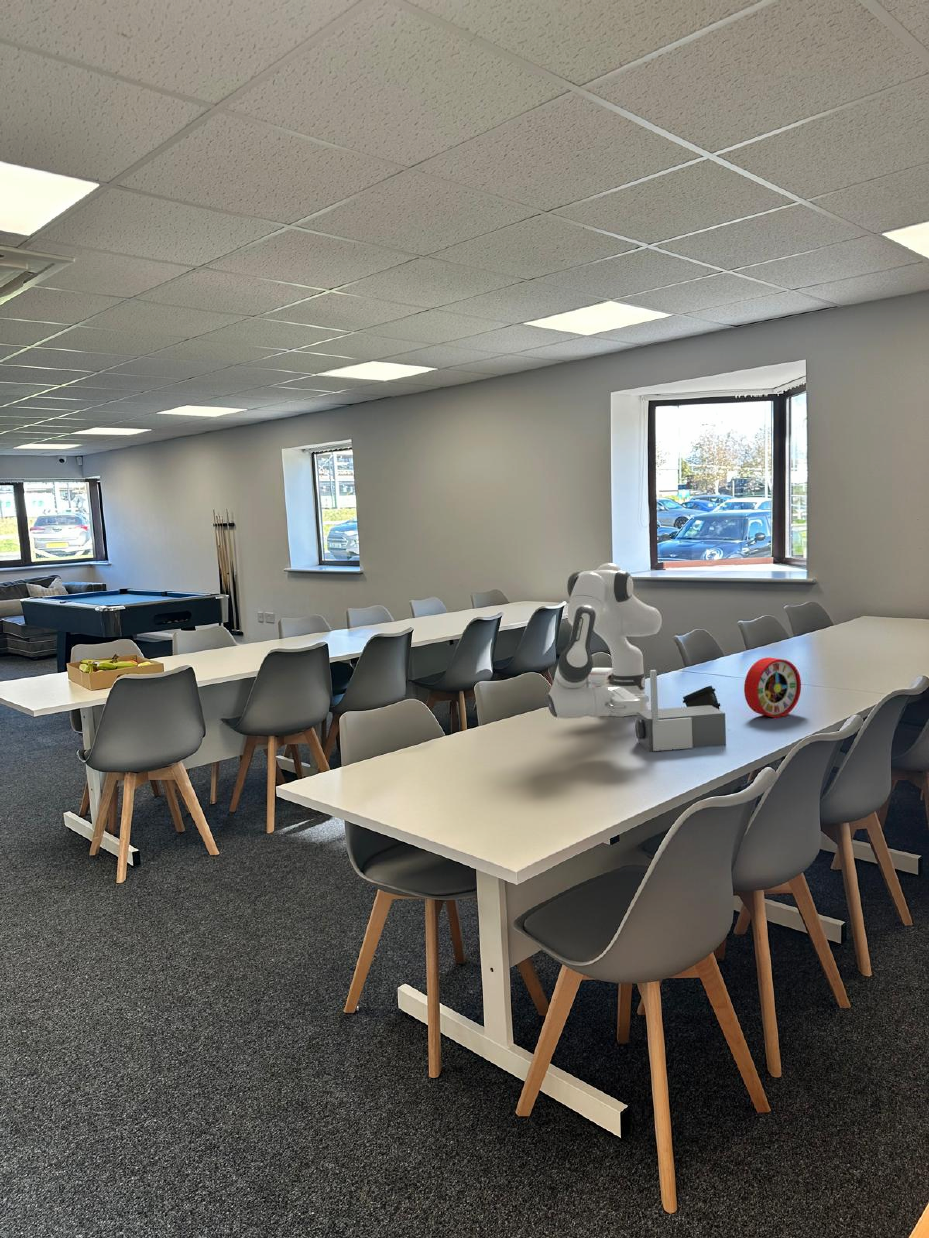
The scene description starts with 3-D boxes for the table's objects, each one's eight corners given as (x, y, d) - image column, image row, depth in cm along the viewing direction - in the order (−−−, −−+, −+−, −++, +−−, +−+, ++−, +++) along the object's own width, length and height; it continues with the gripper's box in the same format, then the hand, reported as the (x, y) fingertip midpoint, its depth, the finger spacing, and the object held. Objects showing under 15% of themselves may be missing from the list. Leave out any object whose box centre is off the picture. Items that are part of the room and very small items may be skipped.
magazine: (724, 730, 270) (706, 686, 274) (694, 742, 280) (677, 699, 284) (731, 728, 273) (713, 684, 276) (701, 739, 283) (684, 697, 286)
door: (654, 751, 256) (651, 671, 253) (652, 750, 257) (649, 670, 255) (693, 748, 257) (690, 668, 254) (691, 746, 258) (688, 667, 256)
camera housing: (644, 752, 257) (643, 719, 256) (633, 742, 269) (631, 711, 268) (726, 745, 259) (725, 713, 258) (711, 735, 271) (710, 705, 270)
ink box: (615, 695, 342) (613, 667, 341) (609, 700, 334) (608, 671, 333) (594, 695, 346) (593, 667, 344) (588, 699, 338) (587, 670, 337)
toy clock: (757, 721, 286) (755, 663, 284) (744, 718, 292) (743, 661, 289) (801, 713, 294) (800, 656, 292) (788, 710, 300) (787, 654, 297)
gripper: (610, 697, 243) (657, 694, 244) (593, 684, 263) (637, 681, 264) (611, 719, 244) (658, 715, 245) (594, 704, 264) (638, 701, 265)
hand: (647, 697), depth 255 cm, fingers closed
